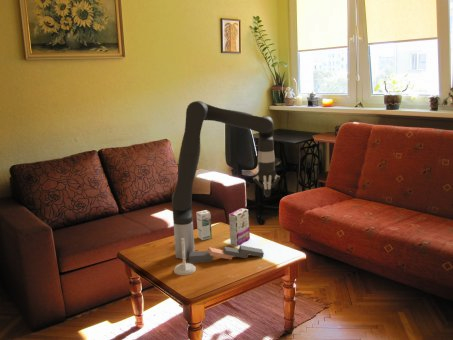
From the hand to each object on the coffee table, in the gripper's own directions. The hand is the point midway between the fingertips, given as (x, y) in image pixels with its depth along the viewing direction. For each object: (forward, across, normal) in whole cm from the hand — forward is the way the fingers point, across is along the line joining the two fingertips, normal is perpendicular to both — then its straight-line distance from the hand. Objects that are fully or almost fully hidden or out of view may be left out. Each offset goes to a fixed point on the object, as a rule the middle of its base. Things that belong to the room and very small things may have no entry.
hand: (267, 196), depth 221 cm
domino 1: (+27, +27, +1) cm, 38 cm away
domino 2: (+29, +27, +1) cm, 40 cm away
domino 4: (+28, +11, 0) cm, 30 cm away
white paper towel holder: (+29, +40, +11) cm, 51 cm away
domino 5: (+28, +3, 0) cm, 28 cm away
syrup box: (+29, +30, -28) cm, 50 cm away
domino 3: (+28, +18, 0) cm, 33 cm away
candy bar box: (+29, +12, -19) cm, 37 cm away
